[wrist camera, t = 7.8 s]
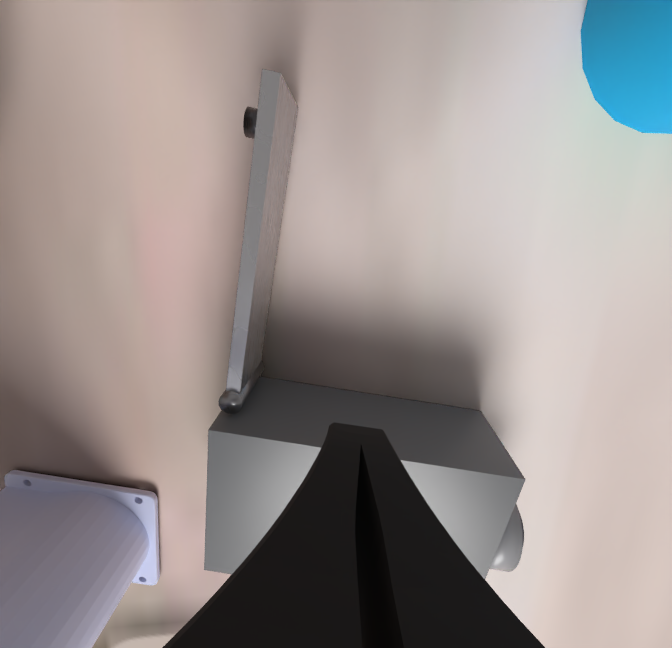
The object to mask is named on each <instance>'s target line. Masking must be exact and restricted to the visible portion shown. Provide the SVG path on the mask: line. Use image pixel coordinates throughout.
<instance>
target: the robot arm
mask: <svg viewBox="0 0 672 648" xmlns="http://www.w3.org/2000/svg"><path fill="white" fill-rule="evenodd" d="M4 481H5V485H6V487H5V488H3V489H2V490H1V491H0V648H92V647H93V645H94V643H95V642H96V640H97V638H98V637H99V635H100V633H101V632H102V630H103V628H104V627H105V625H106V623H107V622H108V620H109V618H110V617H111V615H112V614H113V612H114V610H115V609H116V607H117V605H118V604H119V602H120V600H121V599H122V597H123V595H124V594H125V592H126V590H127V589H128V587H129V586H130V584H131V582H132V583H139V584H145V585H155V584H156V583H157V582H158V580H159V577H160V568H159V533H158V498H157V495H156V494H155V493H154V492H151V491H146V490H140V489H134V488H127V487H121V486H114V485H108V484H102V483H95V482H89V481H83V480H76V479H70V478H63V477H57V476H51V475H44V474H38V473H31V472H25V471H19V470H12V471H10V472H9V473H7V474H6V475H5V476H4ZM163 648H545V647H544V646H543V645H542V644H541V643H540V642H539V640H538V639H537V638H536V637H535V636H534V635H533V634H532V633H531V632H530V631H529V630H528V629H527V628H526V627H525V625H524V624H523V623H522V622H521V621H520V620H519V619H518V618H517V617H516V616H515V614H514V613H513V612H512V611H511V610H510V609H509V608H508V606H507V605H506V604H505V603H504V602H503V601H502V600H501V599H500V597H499V596H498V595H497V594H496V593H495V591H494V590H493V589H492V588H491V587H490V585H489V584H488V583H487V582H486V581H485V579H484V578H483V577H482V576H481V575H480V573H479V572H478V571H477V570H476V568H475V567H474V566H473V565H472V564H471V562H470V561H469V560H468V559H467V557H466V556H465V555H464V553H463V552H462V551H461V549H460V548H459V547H458V545H457V544H456V543H455V542H454V540H453V539H452V537H451V536H450V535H449V533H448V532H447V530H446V529H445V528H444V526H443V525H442V524H441V522H440V521H439V519H438V518H437V517H436V515H435V514H434V512H433V511H432V509H431V508H430V506H429V505H428V503H427V502H426V500H425V499H424V497H423V496H422V494H421V493H420V491H419V489H418V488H417V486H416V485H415V483H414V482H413V480H412V479H411V477H410V475H409V474H408V472H407V470H406V469H405V467H404V465H403V464H402V462H401V460H400V459H399V457H398V455H397V453H396V452H395V450H394V448H393V446H392V444H391V443H390V441H389V439H388V437H387V435H386V434H385V432H384V431H383V429H376V428H370V427H363V426H356V425H349V424H342V423H336V422H334V423H332V424H331V425H329V428H328V432H327V435H326V438H325V441H324V443H323V445H322V448H321V450H320V452H319V454H318V456H317V458H316V459H315V461H314V463H313V465H312V466H311V468H310V470H309V472H308V473H307V475H306V477H305V479H304V480H303V482H302V483H301V485H300V487H299V488H298V489H297V491H296V492H295V494H294V495H293V497H292V498H291V500H290V501H289V503H288V504H287V506H286V507H285V509H284V510H283V512H282V513H281V514H280V516H279V517H278V518H277V520H276V521H275V522H274V524H273V525H272V526H271V528H270V529H269V530H268V532H267V533H266V534H265V536H264V537H263V538H262V539H261V541H260V542H259V543H258V544H257V545H256V547H255V548H254V549H253V550H252V552H251V553H250V554H249V555H248V557H247V558H246V559H245V560H244V561H243V562H242V563H241V565H240V566H239V567H238V568H237V569H236V570H235V571H234V573H233V574H232V575H231V576H230V577H229V578H228V579H227V581H226V582H225V583H224V584H223V585H222V586H221V587H220V589H219V590H218V591H217V592H216V593H215V594H214V595H213V596H212V597H211V598H210V600H209V601H208V602H207V603H206V604H205V605H204V606H203V607H202V608H201V609H200V610H199V611H198V612H197V613H196V614H195V616H194V617H193V618H192V619H191V620H190V621H189V622H188V623H187V624H186V625H185V626H184V627H183V628H182V629H181V630H180V631H179V632H178V633H177V634H176V635H175V636H174V637H173V638H172V639H171V640H170V641H169V642H168V643H167V644H166V645H165V646H164V647H163Z"/></svg>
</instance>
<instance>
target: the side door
mask: <svg viewBox="0 0 672 648" xmlns="http://www.w3.org/2000/svg"><path fill="white" fill-rule="evenodd" d="M297 111H298V106H297V104H296V102H295V100H294V98H293V96H292V94H291V92H290V90H289V88H288V86H287V84H286V82H285V80H284V78H283V76H282V74H281V73H279V72H274V71H270V70H265V69H262V76H261V85H260V94H259V102H258V109H256V108H252V107H247V108H246V110H245V114H244V133H245V136H246V137H248V138H252V139H254V147H253V156H252V165H251V173H250V182H249V191H248V200H247V209H246V218H245V227H244V236H243V244H242V253H241V262H240V271H239V280H238V289H237V298H236V307H235V315H234V324H233V333H232V342H231V351H230V360H229V369H228V378H227V386H226V390H225V392H224V393H223V394H222V396H221V397H220V399H219V406H220V408H221V409H222V410H223V411H224V412H226V413H228V414H235V413H237V412H239V411H240V409H241V408H242V406H243V404H244V403H245V401H246V399H247V397H248V396H249V394H250V392H251V391H252V389H253V387H254V386H255V384H256V382H257V380H258V379H259V377H260V375H261V374H262V372H263V370H264V363H263V361H262V360H261V358H262V351H263V344H264V338H265V331H266V324H267V317H268V310H269V303H270V296H271V290H272V283H273V276H274V269H275V262H276V255H277V248H278V242H279V235H280V228H281V221H282V214H283V207H284V200H285V194H286V187H287V180H288V173H289V166H290V159H291V152H292V146H293V139H294V132H295V125H296V118H297Z"/></svg>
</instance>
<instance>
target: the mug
mask: <svg viewBox="0 0 672 648" xmlns="http://www.w3.org/2000/svg"><path fill="white" fill-rule="evenodd" d="M581 43H582V62H583V70H584V73H585V75H586V78H587V81H588V83H589V86H590V88H591V91H592V93H593V96H594V98H595V100H596V101H597V102H598V103H599V104H600V105H601V106H602V107H603V108H604V110H605V111H606V112H607V113H608V114H609V115H610V116H611V117H612V118H613V119H614V120H615V121H617V122H619V123H621V124H623V125H626V126H628V127H630V128H633V129H635V130H637V131H640V132H642V133H667V134H672V0H588V1H587V6H586V10H585V15H584V20H583V24H582V29H581Z"/></svg>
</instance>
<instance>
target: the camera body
mask: <svg viewBox="0 0 672 648" xmlns="http://www.w3.org/2000/svg"><path fill="white" fill-rule="evenodd" d="M334 422H336V423H342V424H349V425H356V426H363V427H370V428H376V429H383V431H384V432H385V434H386V435H387V437H388V439H389V441H390V443H391V444H392V446H393V448H394V450H395V452H396V453H397V455H398V457H399V459H400V460H401V462H402V464H403V465H404V467H405V469H406V470H407V472H408V474H409V475H410V477H411V479H412V480H413V482H414V483H415V485H416V486H417V488H418V489H419V491H420V493H421V494H422V496H423V497H424V499H425V500H426V502H427V503H428V505H429V506H430V508H431V509H432V511H433V512H434V514H435V515H436V517H437V518H438V519H439V521H440V522H441V524H442V525H443V526H444V528H445V529H446V530H447V532H448V533H449V535H450V536H451V537H452V539H453V540H454V542H455V543H456V544H457V545H458V547H459V548H460V549H461V551H462V552H463V553H464V555H465V556H466V557H467V559H468V560H469V561H470V562H471V564H472V565H473V566H474V567H475V568H476V570H477V571H478V572H479V573H480V575H481V576H482V577H483V578H484V579H485V578H486V576H487V573H488V571H489V569H493V570H500V571H506V572H510V571H513V570H514V569H515V568H516V567H517V565H518V563H519V561H520V558H521V554H522V547H523V542H524V530H523V523H522V519H521V516H520V513H519V510H518V508H517V505H516V502H517V499H518V497H519V494H520V492H521V489H522V487H523V484H524V482H525V478H524V476H523V475H522V473H521V472H520V470H519V469H518V467H517V466H516V464H515V463H514V461H513V460H512V458H511V457H510V455H509V453H508V452H507V450H506V449H505V447H504V446H503V444H502V443H501V441H500V440H499V438H498V437H497V435H496V434H495V432H494V430H493V429H492V427H491V426H490V424H489V423H488V421H487V420H486V418H485V417H484V415H483V414H482V412H481V411H478V410H471V409H465V408H459V407H452V406H446V405H439V404H433V403H426V402H420V401H414V400H407V399H401V398H394V397H388V396H381V395H375V394H369V393H362V392H356V391H349V390H343V389H336V388H330V387H324V386H317V385H311V384H304V383H298V382H291V381H285V380H279V379H272V378H266V377H259V379H258V380H257V382H256V384H255V386H254V387H253V389H252V391H251V392H250V394H249V396H248V397H247V399H246V401H245V403H244V404H243V406H242V408H241V409H240V411H239V412H237V413H235V414H228V413H226V412H224V411H223V410H222V411H221V412H220V414H219V415H218V417H217V418H216V420H215V421H214V423H213V424H212V426H211V427H210V429H209V431H208V464H207V497H206V529H205V562H204V570H208V571H215V572H221V573H227V574H233V573H234V571H235V570H236V569H237V568H238V567H239V566H240V565H241V563H242V562H243V561H244V560H245V559H246V558H247V557H248V555H249V554H250V553H251V552H252V550H253V549H254V548H255V547H256V545H257V544H258V543H259V542H260V541H261V539H262V538H263V537H264V536H265V534H266V533H267V532H268V530H269V529H270V528H271V526H272V525H273V524H274V522H275V521H276V520H277V518H278V517H279V516H280V514H281V513H282V512H283V510H284V509H285V507H286V506H287V504H288V503H289V501H290V500H291V498H292V497H293V495H294V494H295V492H296V491H297V489H298V488H299V487H300V485H301V483H302V482H303V480H304V479H305V477H306V475H307V473H308V472H309V470H310V468H311V466H312V465H313V463H314V461H315V459H316V458H317V456H318V454H319V452H320V450H321V448H322V445H323V443H324V441H325V438H326V435H327V432H328V428H329V425H331V424H332V423H334Z"/></svg>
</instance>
